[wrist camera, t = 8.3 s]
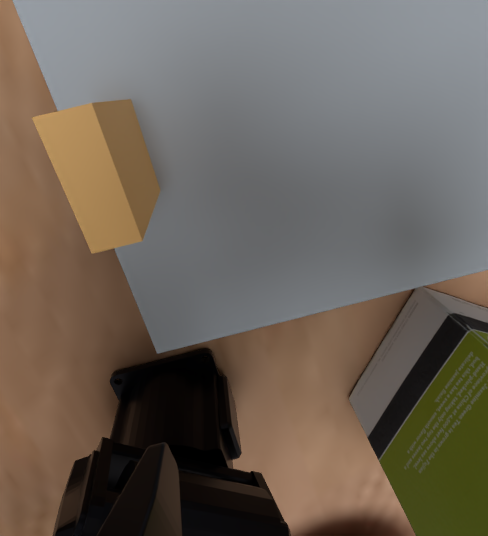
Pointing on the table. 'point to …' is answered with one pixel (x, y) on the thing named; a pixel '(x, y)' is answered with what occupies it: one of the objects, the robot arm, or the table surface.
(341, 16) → the lid
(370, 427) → the tea box
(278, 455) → the table surface
